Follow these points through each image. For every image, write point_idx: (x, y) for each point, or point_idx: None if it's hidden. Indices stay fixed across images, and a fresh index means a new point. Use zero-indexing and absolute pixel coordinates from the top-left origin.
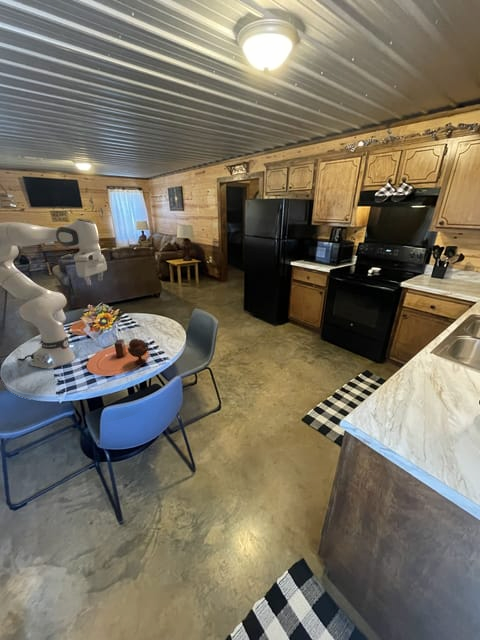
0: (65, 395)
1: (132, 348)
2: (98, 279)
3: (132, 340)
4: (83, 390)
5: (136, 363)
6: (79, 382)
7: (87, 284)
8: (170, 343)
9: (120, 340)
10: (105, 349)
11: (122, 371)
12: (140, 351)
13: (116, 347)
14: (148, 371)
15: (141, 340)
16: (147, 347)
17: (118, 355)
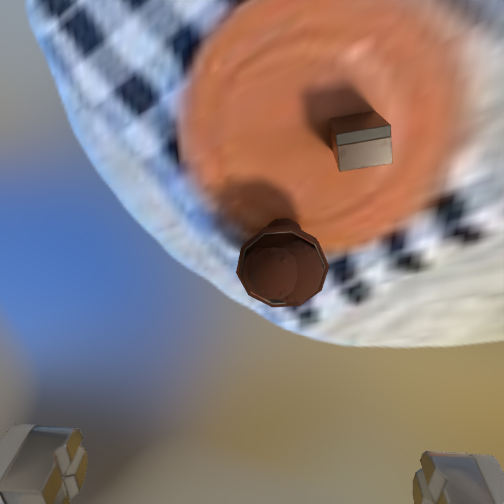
0: (38, 36)
1: (250, 263)
2: (436, 484)
3: (267, 279)
4: (79, 94)
5: (268, 226)
6: (122, 43)
7: (13, 432)
8: (438, 311)
9: (378, 151)
10: (427, 7)
11: (214, 190)
12: (246, 289)
13: (334, 137)
14: (219, 280)
15: (297, 299)
16: (282, 306)
17: (330, 129)
